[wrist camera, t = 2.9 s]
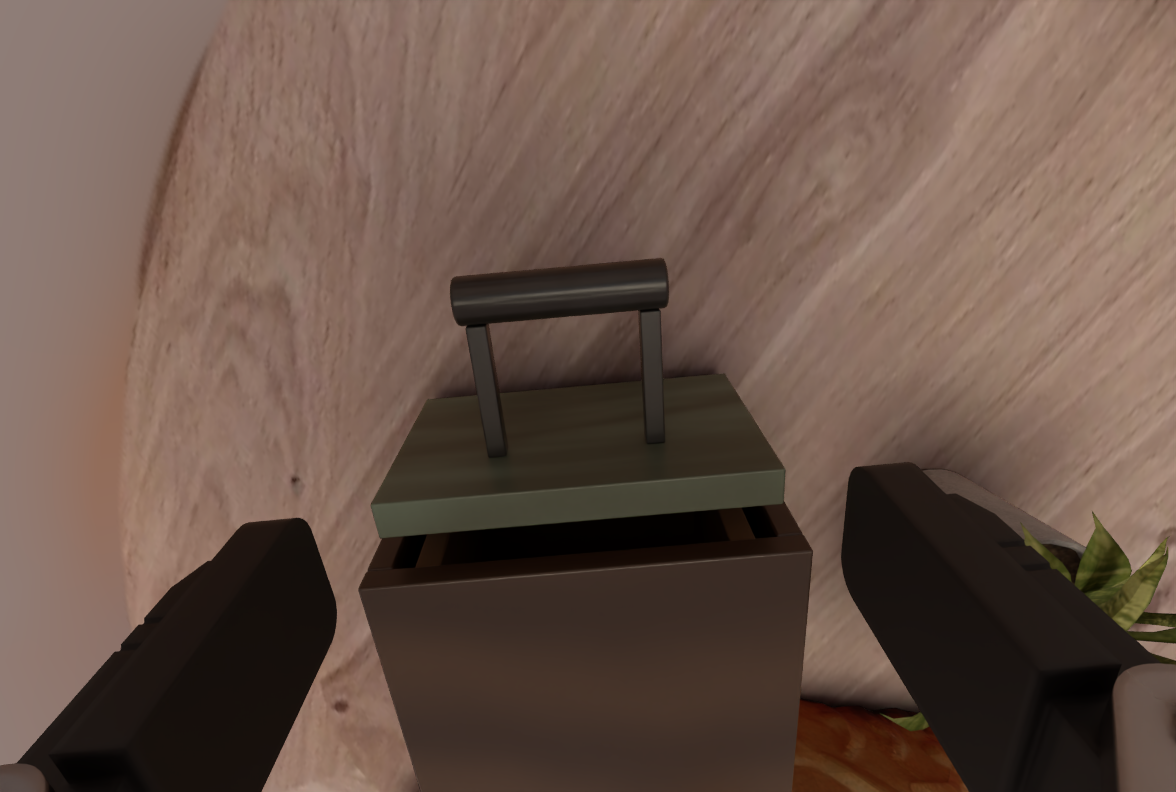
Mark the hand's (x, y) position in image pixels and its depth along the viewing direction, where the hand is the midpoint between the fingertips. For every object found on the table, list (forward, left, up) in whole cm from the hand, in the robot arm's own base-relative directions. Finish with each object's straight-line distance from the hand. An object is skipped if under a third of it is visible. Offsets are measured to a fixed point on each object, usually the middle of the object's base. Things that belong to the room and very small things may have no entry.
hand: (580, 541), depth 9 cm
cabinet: (0, -13, -15) cm, 20 cm away
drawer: (0, -7, -14) cm, 16 cm away
